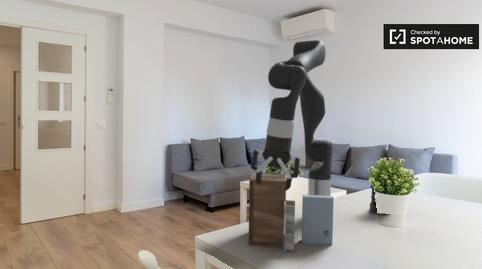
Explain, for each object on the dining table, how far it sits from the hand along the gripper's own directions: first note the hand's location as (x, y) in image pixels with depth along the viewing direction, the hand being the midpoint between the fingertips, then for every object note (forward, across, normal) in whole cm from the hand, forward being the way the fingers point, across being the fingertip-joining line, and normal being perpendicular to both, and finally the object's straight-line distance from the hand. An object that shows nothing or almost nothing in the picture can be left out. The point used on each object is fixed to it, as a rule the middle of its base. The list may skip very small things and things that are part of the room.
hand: (272, 186), depth 101 cm
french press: (+22, -39, -65) cm, 79 cm away
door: (+22, -15, -16) cm, 31 cm away
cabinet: (+23, 0, -12) cm, 26 cm away
